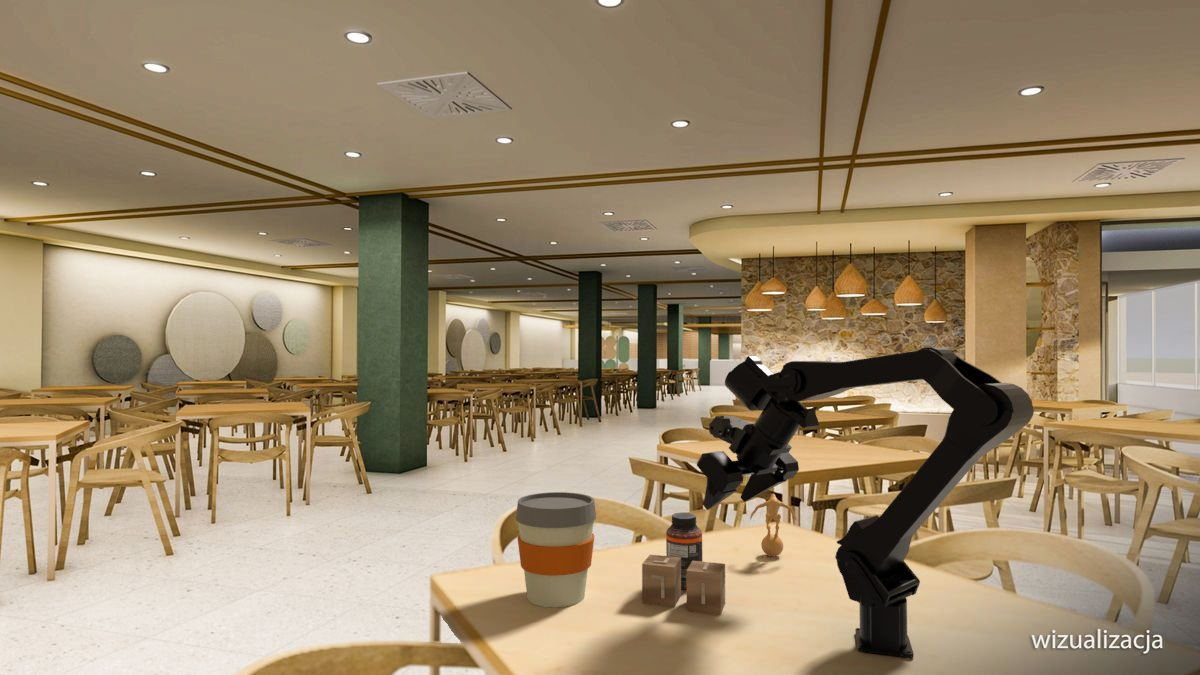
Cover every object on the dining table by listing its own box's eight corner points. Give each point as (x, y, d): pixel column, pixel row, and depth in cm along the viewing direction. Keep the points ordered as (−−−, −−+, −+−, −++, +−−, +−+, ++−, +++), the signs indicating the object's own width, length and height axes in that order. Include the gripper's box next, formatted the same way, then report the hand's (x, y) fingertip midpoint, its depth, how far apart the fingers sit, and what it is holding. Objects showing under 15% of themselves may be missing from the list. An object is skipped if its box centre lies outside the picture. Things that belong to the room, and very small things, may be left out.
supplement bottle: (679, 575, 114) (678, 508, 114) (709, 583, 110) (709, 514, 111) (659, 584, 110) (659, 515, 110) (690, 592, 106) (690, 521, 106)
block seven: (674, 608, 100) (674, 566, 100) (641, 604, 101) (641, 563, 101) (681, 596, 105) (680, 556, 105) (650, 592, 106) (649, 553, 106)
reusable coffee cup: (606, 607, 100) (606, 506, 100) (522, 616, 96) (523, 511, 97) (584, 579, 112) (584, 489, 112) (509, 587, 108) (510, 494, 109)
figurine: (793, 553, 126) (793, 490, 127) (798, 563, 120) (798, 497, 121) (748, 552, 128) (748, 489, 128) (751, 561, 122) (751, 495, 122)
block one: (720, 616, 96) (720, 573, 97) (686, 612, 98) (686, 569, 98) (725, 603, 101) (725, 562, 102) (692, 599, 103) (692, 559, 103)
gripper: (774, 394, 112) (730, 462, 119) (699, 399, 100) (655, 474, 107) (822, 439, 105) (772, 509, 111) (747, 450, 93) (697, 527, 100)
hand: (724, 503), depth 107 cm, fingers open, 9 cm apart
